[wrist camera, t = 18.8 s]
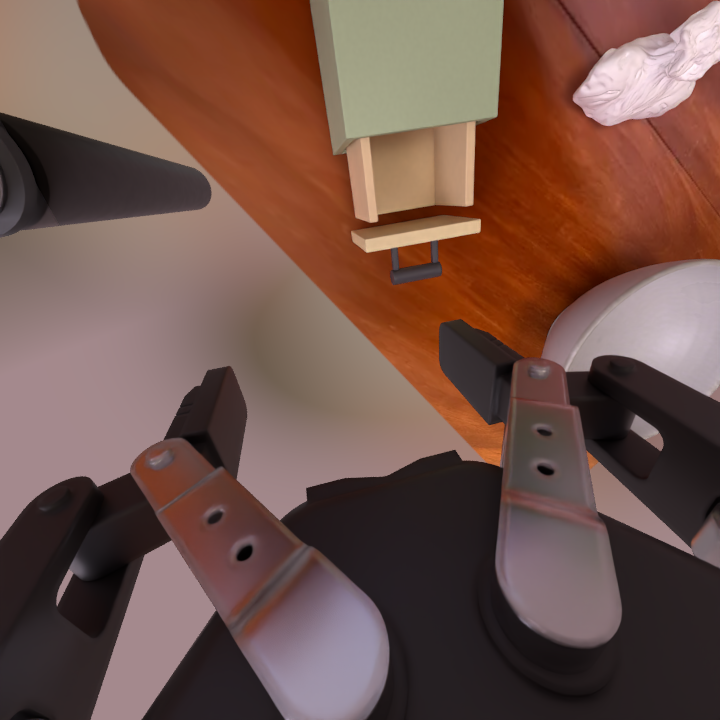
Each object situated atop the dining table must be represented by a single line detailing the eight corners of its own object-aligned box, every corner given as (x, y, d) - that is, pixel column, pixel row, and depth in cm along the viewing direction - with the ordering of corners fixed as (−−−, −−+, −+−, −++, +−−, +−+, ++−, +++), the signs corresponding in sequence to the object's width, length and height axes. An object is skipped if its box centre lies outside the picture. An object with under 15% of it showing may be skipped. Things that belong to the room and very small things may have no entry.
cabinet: (444, 138, 35) (497, 116, 25) (333, 155, 34) (346, 139, 24) (442, -60, 28) (514, -189, 19) (302, -46, 27) (304, -176, 17)
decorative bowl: (631, 385, 58) (705, 427, 47) (496, 415, 55) (542, 466, 45) (685, 231, 45) (803, 241, 35) (512, 261, 43) (582, 282, 32)
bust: (634, 104, 38) (768, -20, 28) (645, 157, 37) (791, 48, 26) (551, 82, 36) (664, -64, 25) (560, 137, 34) (683, 8, 24)
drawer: (444, 262, 40) (478, 277, 33) (357, 278, 39) (372, 297, 32) (442, 82, 32) (488, 45, 24) (331, 97, 31) (342, 64, 23)
